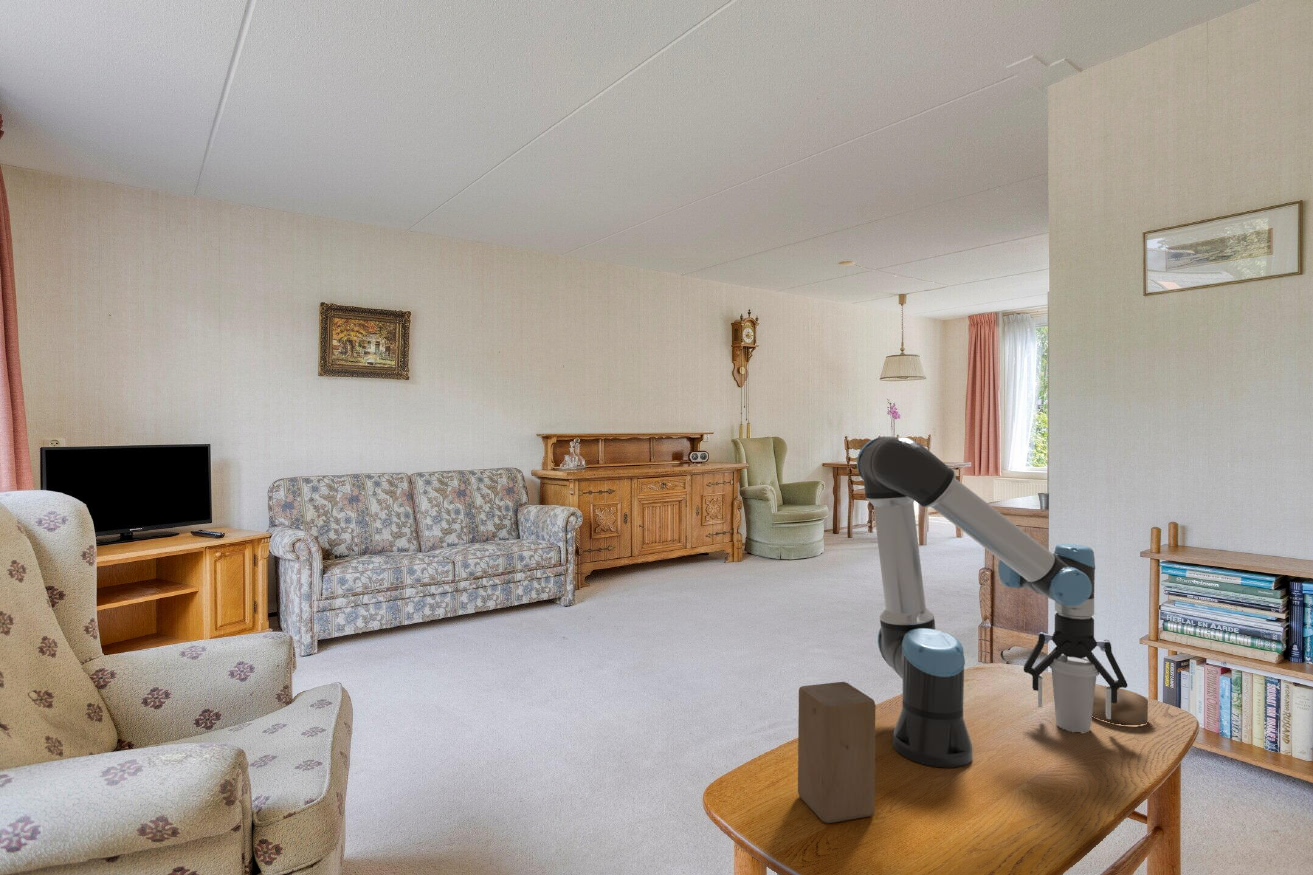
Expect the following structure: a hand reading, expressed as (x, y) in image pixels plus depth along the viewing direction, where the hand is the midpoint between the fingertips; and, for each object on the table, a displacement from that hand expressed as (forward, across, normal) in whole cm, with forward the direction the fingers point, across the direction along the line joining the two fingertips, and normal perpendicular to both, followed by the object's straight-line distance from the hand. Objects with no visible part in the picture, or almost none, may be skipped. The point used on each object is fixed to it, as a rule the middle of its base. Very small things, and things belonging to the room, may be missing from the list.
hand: (1073, 710), depth 151 cm
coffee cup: (+4, 0, 0) cm, 4 cm away
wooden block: (+4, -38, -59) cm, 70 cm away
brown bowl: (+4, +9, +12) cm, 15 cm away
